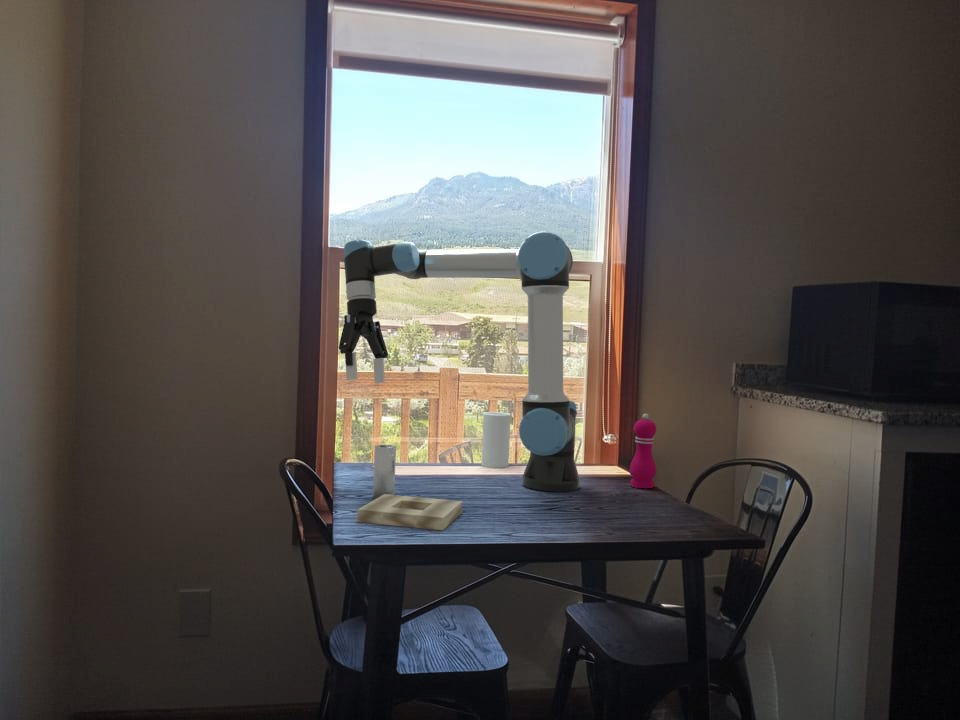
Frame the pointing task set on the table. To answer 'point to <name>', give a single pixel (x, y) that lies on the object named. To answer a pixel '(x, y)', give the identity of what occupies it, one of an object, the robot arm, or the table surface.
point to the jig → (410, 512)
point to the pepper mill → (643, 454)
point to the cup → (496, 439)
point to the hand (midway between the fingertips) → (366, 381)
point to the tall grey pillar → (384, 470)
